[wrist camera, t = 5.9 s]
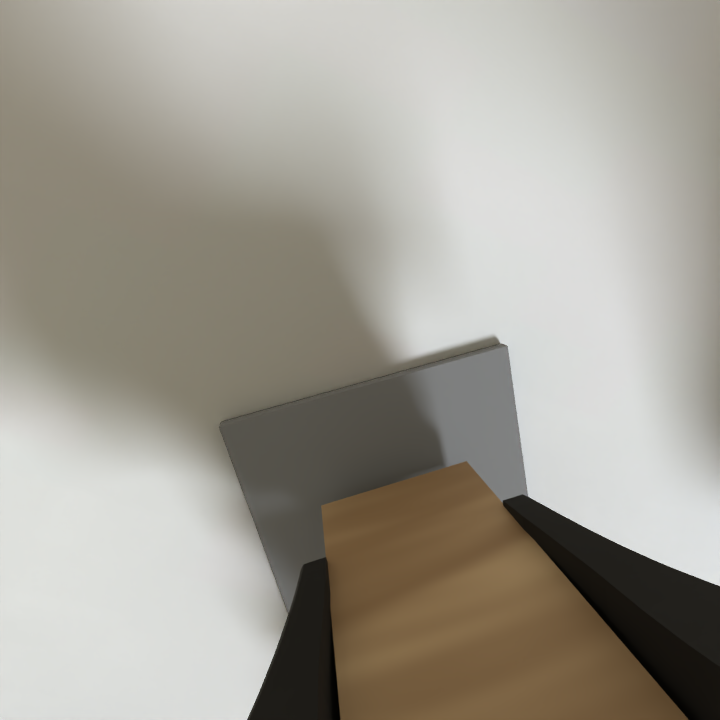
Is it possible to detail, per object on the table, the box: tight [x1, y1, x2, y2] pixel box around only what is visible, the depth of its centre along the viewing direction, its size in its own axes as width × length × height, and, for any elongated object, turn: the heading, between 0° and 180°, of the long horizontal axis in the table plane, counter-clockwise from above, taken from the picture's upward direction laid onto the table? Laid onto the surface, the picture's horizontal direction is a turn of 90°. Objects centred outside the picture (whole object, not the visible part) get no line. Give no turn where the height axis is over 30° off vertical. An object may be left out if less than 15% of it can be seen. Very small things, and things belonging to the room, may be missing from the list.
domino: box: [321, 461, 689, 720], centre depth 9 cm, size 2×5×8 cm, turn 104°
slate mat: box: [219, 344, 528, 614], centre depth 17 cm, size 10×28×1 cm, turn 13°
